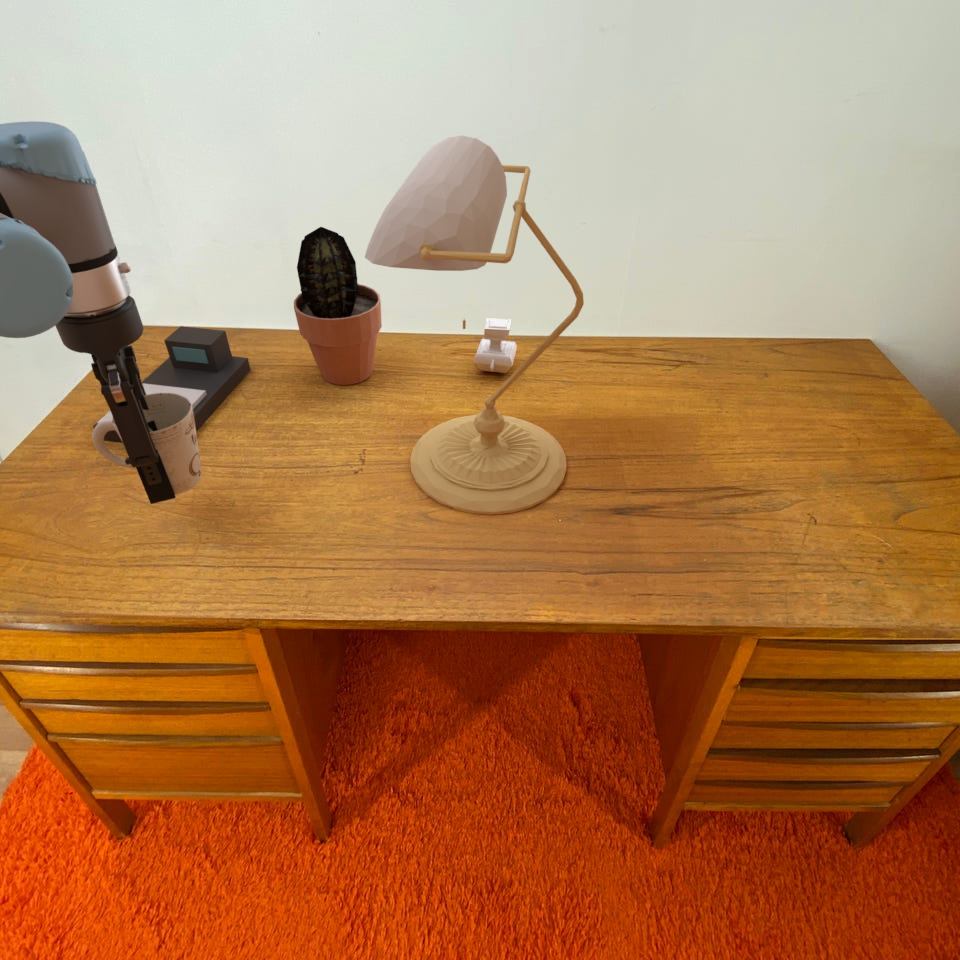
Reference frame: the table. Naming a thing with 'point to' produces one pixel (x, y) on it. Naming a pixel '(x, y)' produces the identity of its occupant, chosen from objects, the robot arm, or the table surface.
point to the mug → (165, 439)
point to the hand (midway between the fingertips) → (160, 481)
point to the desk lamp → (457, 247)
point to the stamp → (496, 347)
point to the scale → (194, 372)
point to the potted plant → (336, 309)
